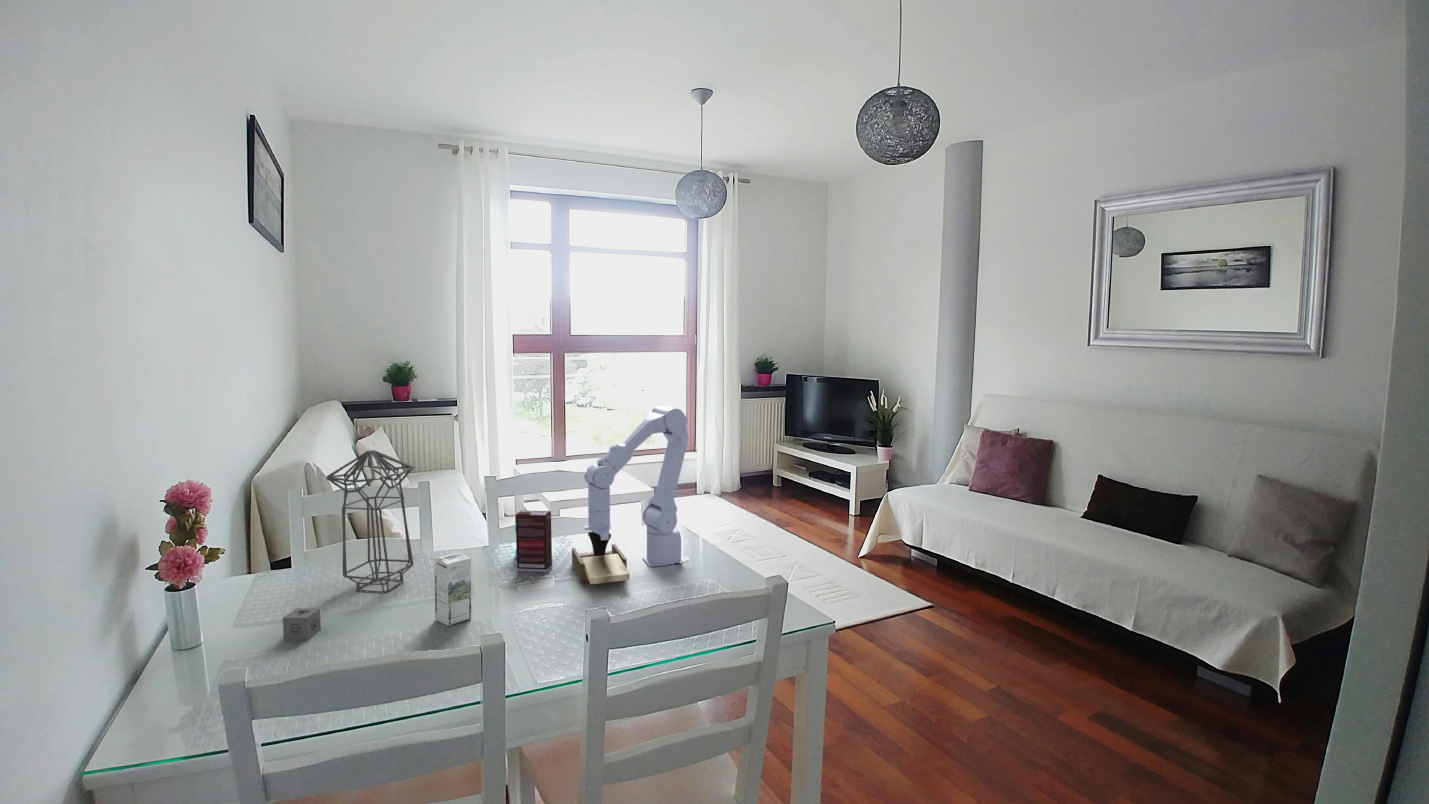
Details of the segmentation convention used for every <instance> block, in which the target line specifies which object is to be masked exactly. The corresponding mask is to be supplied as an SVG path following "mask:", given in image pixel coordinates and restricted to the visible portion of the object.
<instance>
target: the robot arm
mask: <svg viewBox="0 0 1429 804" xmlns="http://www.w3.org/2000/svg"><path fill="white" fill-rule="evenodd" d="M687 424H688V418H687V415H685V413H684V412H683V411H682V409H680V408H674V407H673V408H672V407H668V406H665V405H657V406H655V407H654V408H652V410H651V411H649V412H648V413H646V416H645V418H644V419H643V421H642V422H641V423H640V424H639V425H638V426H637V427H636V428H635V430H634V431H633V432H631V434H630V435H629V436H628V437H627V439H625V440H624V441H623V443H616V444H614V445H613V444H612V445H611V446H609V449H608V450H609V451H607V452H606V453H605V455H603V456H602V458H599V459H597V461H596V462H597V463H594V464H591V465H589V466H588V467H587V469H586V472H585V474H584V476H583V477H584V480H585V482H586V483H587V486H588V489H587V490H588V491H587V493H588V494H587V496H588V497H587V502H588V503H587V506H588V509H587V513H588V517H587V518H588V525H584V526H583V529H584V530H585V531H589V532H587V536H588V537H589V539H590V542H591V547H592V549H593V551H592V553H594V556H600V555H605V552H607V551H606V550H607V546H608V543H609V541H610V540H611V537H612V534H611V533H610V530H611V528H612V525H611V485H613V483H614V481H615V476H616V475H617V474H618V473H619V472H620V471H621V470H622V469H623V467H625V466H626V465H627V464H628V463H629V462H630V461H631V460H632V453H633V452H634V451H635V450H636V449H638V447H640V446H641V445H642V444H643V443H644V442H645V441H646V440H647V439H648V438H650V437H651V436H652V435H654V434H659V433H660V434H663V436H664V438H665V439H666V440H667V444H666V448H665V451H664V452H665V453H664V456H663V462H662V464H661V465H662V466H661V469H660V474H659V477H658V481H657V486H656V490H655V494H654V495H653V496H652V497H651V498H650V499H649V500H648V503H647V506H646V507H645V509H644V510H643V512H642V521H643V523H644V524H645V525H646V556H642V560H643V561H644V562H645V563H646V565H648V567H651V568H652V567H661V565H662V566H669V564H671V565H676V564H675V563H680V562H683V561H682V538H681V537H682V536H681V532H680V531H679V530H678V529H677V528H676V526H677V522H678V518H677V511H678V507H677V505H676V501H675V496H676V492H677V487H678V483H679V480H680V475H681V472H682V471H681V470H682V468H683V467H682V466H683V464H684V459H685V454H686V452H687V447H688V444H689V443H688V442H689V433H688V427H687ZM675 528H676V529H675ZM680 564H681V563H680Z"/></svg>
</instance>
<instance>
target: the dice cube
mask: <svg viewBox="0 0 1429 804" xmlns="http://www.w3.org/2000/svg"><path fill="white" fill-rule="evenodd" d="M321 625H322V623H321V608H319V607H318V608H317V607H315V608H313V607H311V608H309V607H308V608H307V607H303V608H301V607H299V608H294V609H293V610H292V611H290V612H289V613H287V614H286V615H285V616H283V617H282V631H283V632H282V633H283V641H288V642H289V641H290V642H291V641H292V642H293V641H295V642H296V641H298V642H299V641H302V642H303V641H305V642H306V641H309V640H311V639H312V638H313V637H315V636H316V635H317V634H318V633H319V632H321V630H322V628H321V627H322V626H321Z"/></svg>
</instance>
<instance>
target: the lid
mask: <svg viewBox="0 0 1429 804" xmlns="http://www.w3.org/2000/svg"><path fill="white" fill-rule="evenodd" d="M581 559H582V561H583V563H584V570H585V573H586V575H587V577H588V579H589V581H590V583H589V584H590V585H595V584H598V585H599V584H605V583H606V584H607V583H612V582H622V581H629V580H630V572H629V570H628V568H627V569H626V567H625V565H624V564H623V562H622V560H621V558H620V557H619V555H618V554H610V555H600V556H591V557H581Z"/></svg>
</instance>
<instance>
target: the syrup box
mask: <svg viewBox="0 0 1429 804" xmlns="http://www.w3.org/2000/svg"><path fill="white" fill-rule="evenodd" d="M471 560H472V559H471V558H470V557H469V556H467V555H465V554H463V553H460V552H455V553H451V554H448V555H444V556H439V557H436V558H434V559H433V562H434V605H435V607H434V609H435V610H434V612H435V613H434V617H435V620H436V621H437V622H439V623H441V624H442V625H445V626H447V627H451V626H452V627H453V626H454V625H457V624H460V623H464V622H466V621H469V620H471V619H472V561H471Z"/></svg>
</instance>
